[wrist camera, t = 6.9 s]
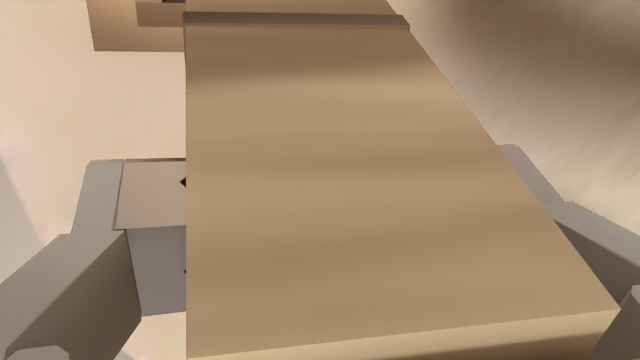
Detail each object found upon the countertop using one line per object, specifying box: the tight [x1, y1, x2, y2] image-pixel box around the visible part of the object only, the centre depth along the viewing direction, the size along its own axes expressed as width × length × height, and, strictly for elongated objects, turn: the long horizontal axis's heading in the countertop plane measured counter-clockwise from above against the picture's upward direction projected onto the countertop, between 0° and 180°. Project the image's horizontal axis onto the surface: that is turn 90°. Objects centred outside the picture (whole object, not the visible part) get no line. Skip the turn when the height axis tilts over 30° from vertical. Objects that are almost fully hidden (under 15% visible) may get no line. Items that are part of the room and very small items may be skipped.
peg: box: [182, 0, 621, 360], centre depth 9 cm, size 4×4×9 cm
